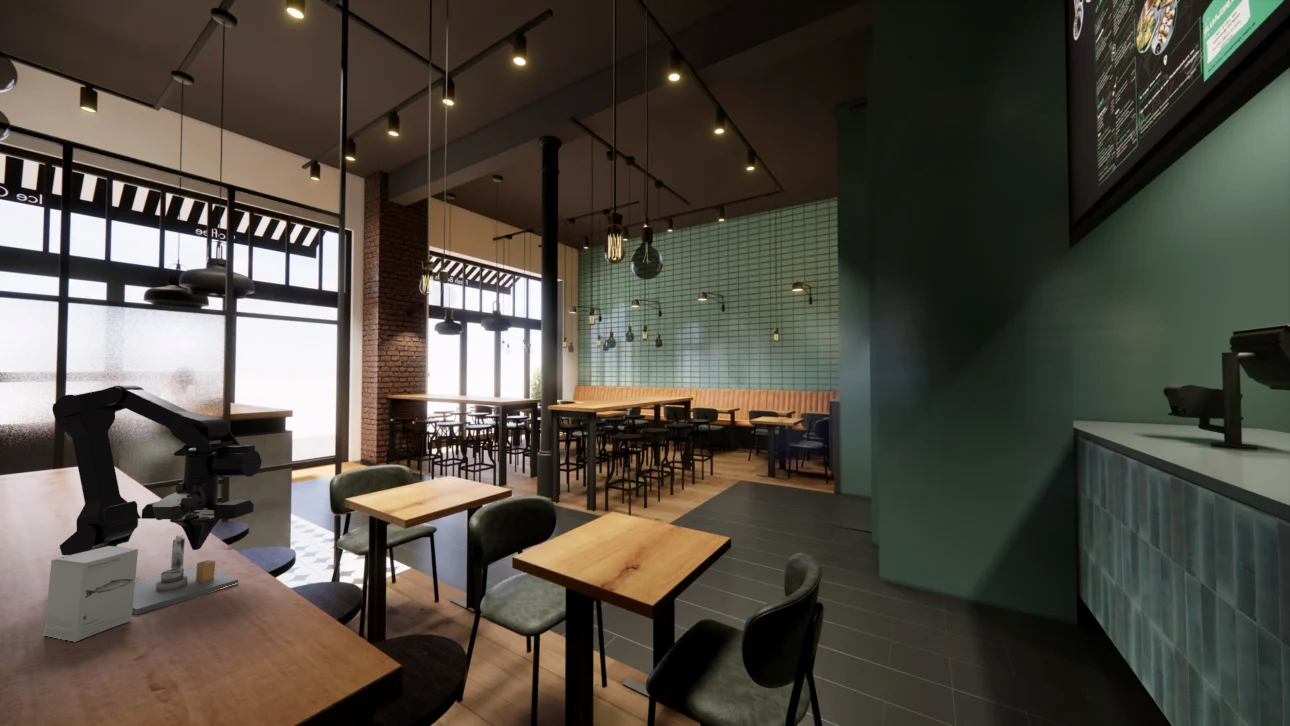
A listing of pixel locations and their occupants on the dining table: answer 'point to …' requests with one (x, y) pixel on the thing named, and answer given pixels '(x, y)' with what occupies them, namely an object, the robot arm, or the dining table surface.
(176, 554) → the crank
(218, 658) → the dining table surface
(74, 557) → the supplement box
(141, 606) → the crank bed
